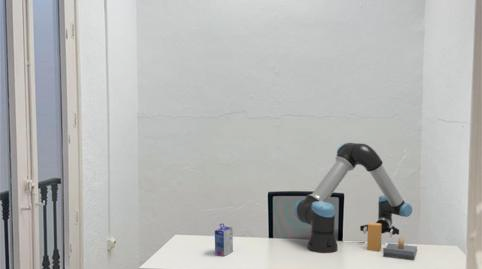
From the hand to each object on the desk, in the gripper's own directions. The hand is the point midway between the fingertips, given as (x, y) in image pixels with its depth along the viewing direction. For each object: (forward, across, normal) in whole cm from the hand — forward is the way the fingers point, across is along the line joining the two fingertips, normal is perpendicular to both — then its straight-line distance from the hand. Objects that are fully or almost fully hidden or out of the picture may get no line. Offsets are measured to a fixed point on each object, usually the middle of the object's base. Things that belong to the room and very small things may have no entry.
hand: (377, 233), depth 242 cm
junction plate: (+8, -12, -7) cm, 16 cm away
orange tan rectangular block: (+6, +1, -7) cm, 9 cm away
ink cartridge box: (+48, +66, -8) cm, 82 cm away
